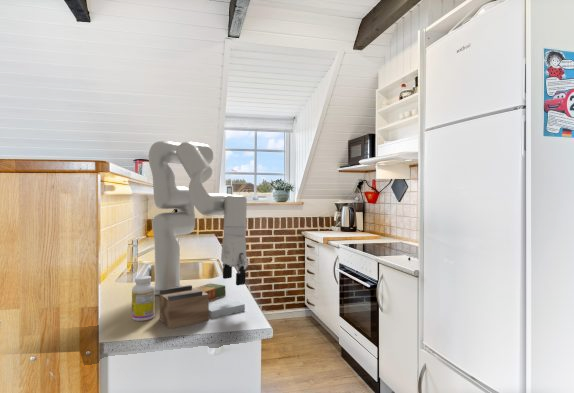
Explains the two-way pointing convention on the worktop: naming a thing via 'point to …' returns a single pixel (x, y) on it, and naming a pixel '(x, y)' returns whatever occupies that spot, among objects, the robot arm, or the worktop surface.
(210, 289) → the carton
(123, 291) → the worktop surface
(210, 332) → the worktop surface
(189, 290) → the slot box
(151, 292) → the supplement bottle
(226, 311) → the cover plate
